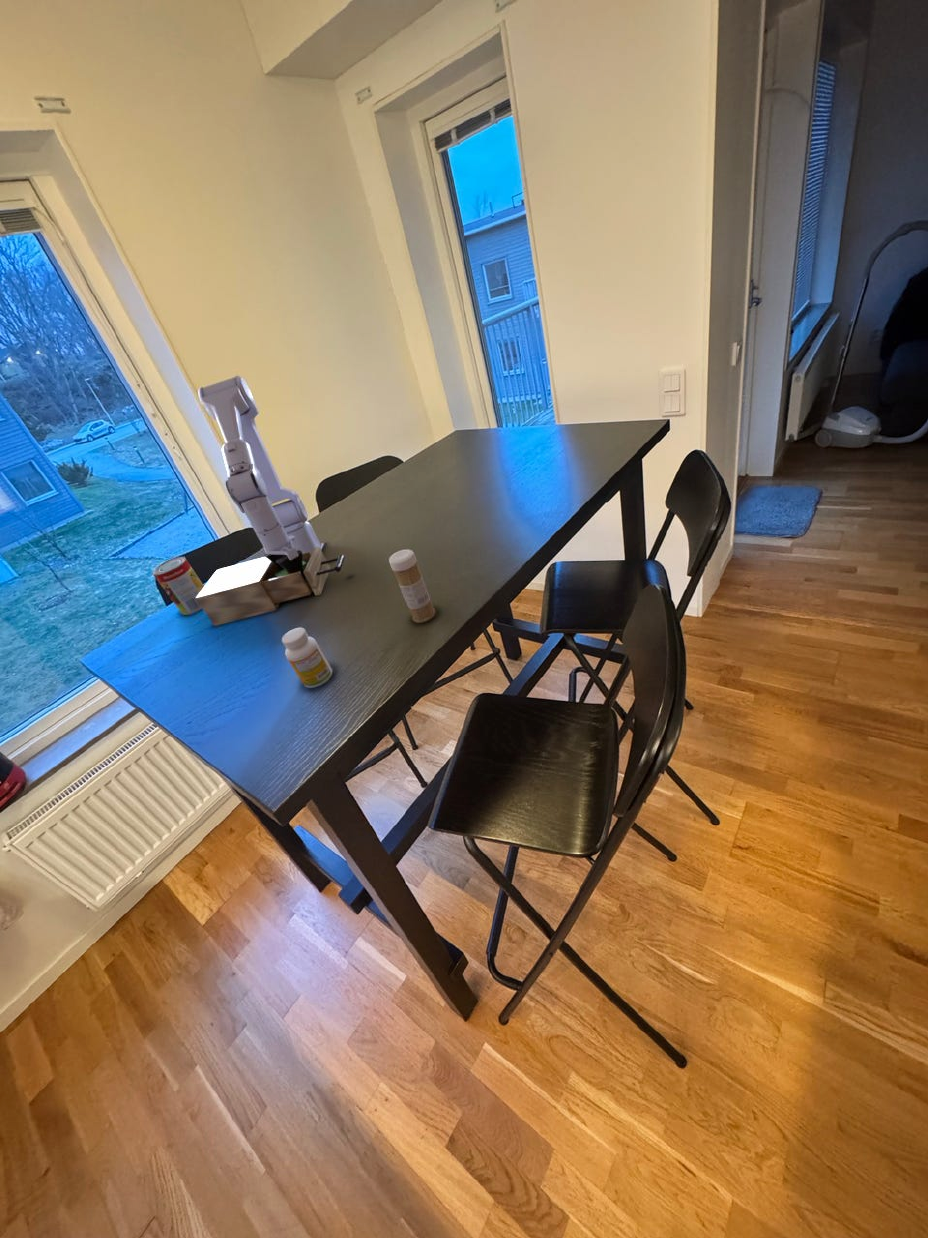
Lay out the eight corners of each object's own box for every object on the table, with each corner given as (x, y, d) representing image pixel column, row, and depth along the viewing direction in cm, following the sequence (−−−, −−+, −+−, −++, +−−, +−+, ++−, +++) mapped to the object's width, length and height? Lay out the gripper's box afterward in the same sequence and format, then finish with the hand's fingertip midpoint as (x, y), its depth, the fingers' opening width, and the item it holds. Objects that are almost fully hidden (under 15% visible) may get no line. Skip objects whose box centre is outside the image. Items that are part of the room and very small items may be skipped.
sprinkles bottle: (430, 606, 94) (408, 545, 86) (439, 616, 90) (417, 553, 82) (409, 616, 93) (384, 556, 85) (417, 627, 89) (393, 565, 81)
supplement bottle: (306, 671, 87) (281, 629, 81) (335, 663, 86) (311, 621, 81) (301, 692, 82) (273, 649, 77) (330, 684, 82) (305, 640, 77)
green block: (308, 574, 116) (300, 559, 113) (314, 577, 113) (306, 562, 111) (282, 589, 113) (274, 574, 110) (288, 593, 110) (279, 578, 108)
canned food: (206, 593, 127) (179, 554, 121) (216, 600, 122) (189, 560, 115) (177, 610, 124) (148, 570, 117) (186, 618, 118) (156, 577, 112)
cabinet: (290, 581, 120) (275, 553, 115) (276, 610, 109) (259, 581, 105) (234, 596, 122) (216, 569, 117) (214, 626, 111) (194, 598, 106)
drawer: (352, 563, 117) (342, 540, 113) (344, 588, 107) (333, 564, 104) (275, 583, 119) (263, 561, 116) (261, 609, 110) (247, 587, 106)
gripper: (297, 522, 101) (324, 577, 109) (271, 513, 111) (297, 563, 119) (267, 538, 98) (297, 593, 106) (243, 527, 108) (272, 578, 116)
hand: (296, 578), depth 112 cm, fingers open, 5 cm apart
